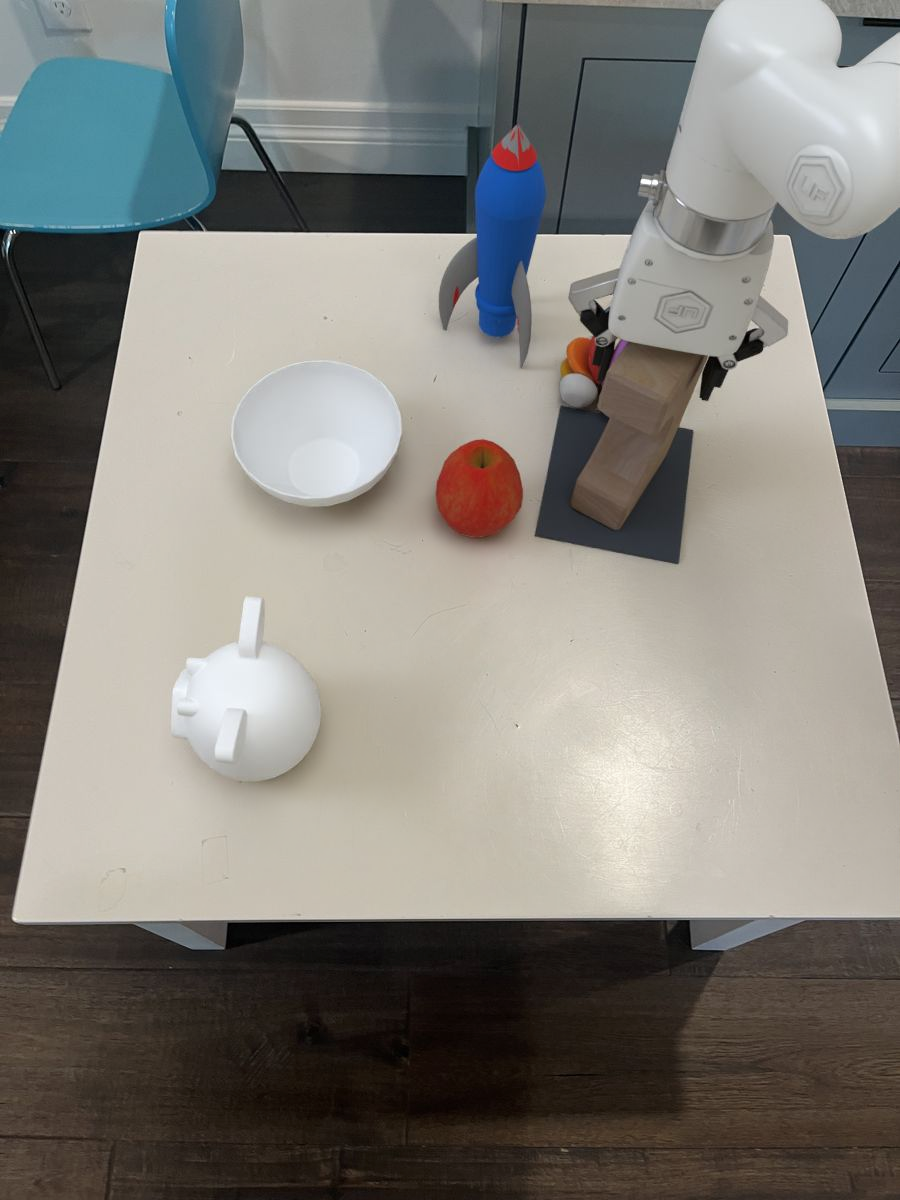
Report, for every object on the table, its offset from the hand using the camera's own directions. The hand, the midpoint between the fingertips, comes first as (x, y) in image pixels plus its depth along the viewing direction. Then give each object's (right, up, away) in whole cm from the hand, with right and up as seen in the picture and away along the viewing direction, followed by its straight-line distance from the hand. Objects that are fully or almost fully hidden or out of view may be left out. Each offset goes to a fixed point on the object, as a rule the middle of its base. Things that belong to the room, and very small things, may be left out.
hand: (653, 377), depth 74 cm
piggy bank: (-34, -31, +2) cm, 46 cm away
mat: (0, -7, +14) cm, 16 cm away
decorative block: (0, -7, +14) cm, 16 cm away
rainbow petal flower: (-1, +3, +19) cm, 20 cm away
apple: (-15, -11, +12) cm, 22 cm away
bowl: (-30, -6, +14) cm, 34 cm away
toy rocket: (-14, +10, +23) cm, 28 cm away
